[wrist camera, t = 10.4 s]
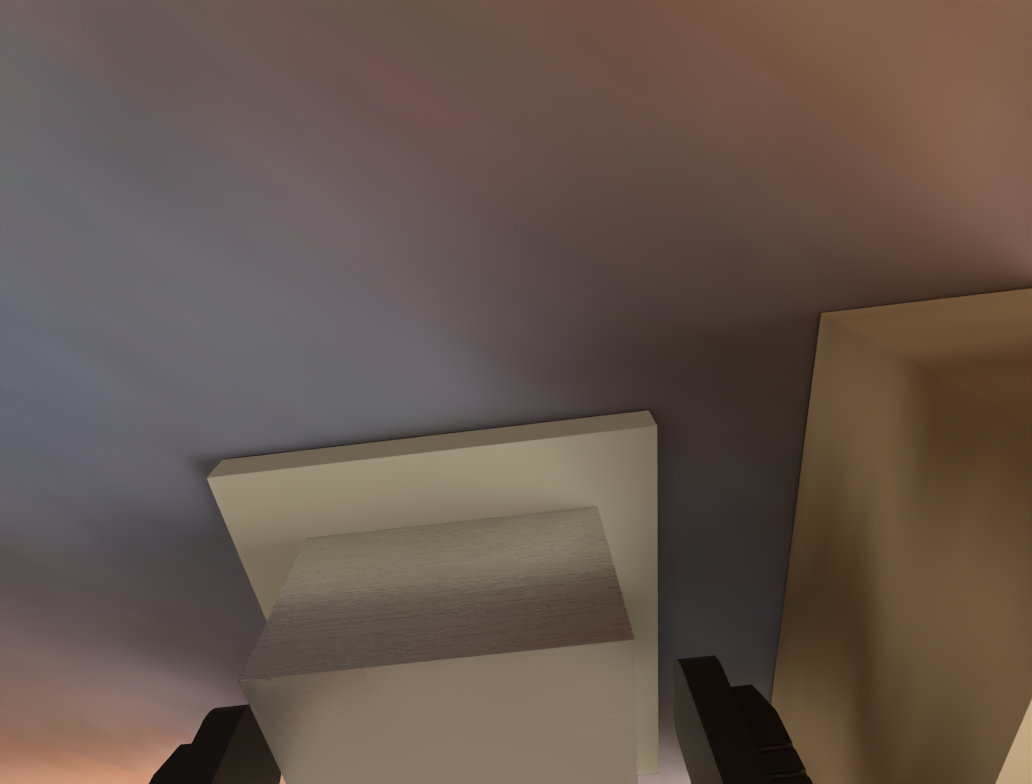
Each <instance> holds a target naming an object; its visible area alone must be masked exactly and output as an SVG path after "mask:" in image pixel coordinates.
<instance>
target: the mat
mask: <svg viewBox="0 0 1032 784" xmlns="http://www.w3.org/2000/svg"><path fill="white" fill-rule="evenodd" d="M207 480H208V483H209V485H210V487H211V490H212V492H213V495H214V497H215V499H216V502H217V504H218V507H219V509H220V511H221V514H222V516H223V519H224V521H225V523H226V526H227V528H228V530H229V533H230V535H231V538H232V540H233V542H234V545H235V547H236V550H237V552H238V554H239V557H240V559H241V561H242V564H243V566H244V569H245V571H246V573H247V576H248V578H249V581H250V583H251V585H252V588H253V590H254V592H255V595H256V597H257V600H258V602H259V604H260V607H261V609H262V612H263V614H264V616H265V619H266V621H267V620H268V618H269V616H270V614H271V611H272V609H273V607H274V605H275V603H276V601H277V599H278V597H279V595H280V593H281V591H282V588H283V586H284V584H285V582H286V580H287V578H288V576H289V574H290V572H291V570H292V567H293V565H294V563H295V561H296V559H297V557H298V555H299V553H300V551H301V549H302V547H303V544H304V542H305V540H306V538H309V537H318V536H327V535H337V534H346V533H355V532H364V531H374V530H383V529H392V528H401V527H411V526H420V525H429V524H438V523H448V522H457V521H466V520H475V519H485V518H494V517H503V516H512V515H522V514H531V513H540V512H550V511H559V510H568V509H577V508H587V507H596V506H597V507H598V510H599V514H600V518H601V521H602V525H603V528H604V532H605V535H606V539H607V542H608V546H609V550H610V553H611V557H612V560H613V564H614V567H615V571H616V574H617V578H618V581H619V585H620V589H621V592H622V596H623V599H624V603H625V606H626V610H627V613H628V617H629V621H630V624H631V628H632V631H633V635H634V638H635V674H636V727H637V776H640V775H649V774H658V513H657V425H656V423H655V421H654V419H653V418H652V416H651V414H650V412H649V411H639V412H631V413H622V414H613V415H605V416H596V417H588V418H579V419H570V420H562V421H553V422H544V423H536V424H527V425H519V426H510V427H501V428H493V429H484V430H476V431H467V432H458V433H450V434H441V435H432V436H424V437H415V438H407V439H398V440H389V441H381V442H372V443H364V444H355V445H346V446H338V447H329V448H321V449H312V450H303V451H295V452H286V453H277V454H269V455H260V456H252V457H243V458H234V459H226V460H222V461H221V462H220V463H219V464H218V465H217V466H216V467H215V469H214V470H213V471H212V472H211V473H210V474H209V476H208V477H207Z"/></svg>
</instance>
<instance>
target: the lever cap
mask: <svg viewBox="0 0 1032 784" xmlns="http://www.w3.org/2000/svg"><path fill="white" fill-rule="evenodd" d="M238 682H239V684H240V686H241V688H242V690H243V692H244V694H245V697H246V699H247V701H248V703H249V705H250V707H251V709H252V712H253V714H254V716H255V718H256V720H257V722H258V724H259V726H260V729H261V731H262V733H263V735H264V737H265V739H266V741H267V743H268V746H269V748H270V750H271V752H272V754H273V756H274V758H275V761H276V763H277V765H278V767H279V769H280V771H281V773H282V775H283V778H284V780H285V782H286V784H638V779H637V727H636V674H635V638H634V635H633V631H632V628H631V624H630V621H629V617H628V613H627V610H626V606H625V603H624V599H623V596H622V592H621V589H620V585H619V581H618V578H617V574H616V571H615V567H614V564H613V560H612V557H611V553H610V550H609V546H608V542H607V539H606V535H605V532H604V528H603V525H602V521H601V518H600V514H599V510H598V507H597V506H596V507H587V508H577V509H568V510H559V511H550V512H540V513H531V514H522V515H512V516H503V517H494V518H485V519H475V520H466V521H457V522H448V523H438V524H429V525H420V526H411V527H401V528H392V529H383V530H374V531H364V532H355V533H346V534H337V535H327V536H318V537H309V538H306V540H305V542H304V544H303V547H302V549H301V551H300V553H299V555H298V557H297V559H296V561H295V563H294V565H293V567H292V570H291V572H290V574H289V576H288V578H287V580H286V582H285V584H284V586H283V588H282V591H281V593H280V595H279V597H278V599H277V601H276V603H275V605H274V607H273V609H272V611H271V614H270V616H269V618H268V620H267V622H266V624H265V626H264V628H263V630H262V632H261V634H260V637H259V639H258V641H257V643H256V645H255V647H254V649H253V651H252V653H251V655H250V658H249V660H248V662H247V664H246V666H245V668H244V670H243V672H242V674H241V676H240V678H239V681H238Z"/></svg>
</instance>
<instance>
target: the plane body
mask: <svg viewBox="0 0 1032 784" xmlns="http://www.w3.org/2000/svg"><path fill="white" fill-rule="evenodd" d="M771 705H772V706H773V707H774V708H775V709H776V710H777V712H778V714H779V716H780V718H781V720H782V722H783V724H784V726H785V729H786V731H787V733H788V735H789V737H790V739H791V741H792V744H793V747H794V749H796V751H797V753H798V755H799V757H800V759H801V761H802V763H803V765H804V767H805V769H806V773H807V776H808V777H810V779H811V781H812V783H813V784H1032V288H1029V289H1021V290H1012V291H1004V292H995V293H987V294H978V295H970V296H961V297H953V298H944V299H936V300H928V301H919V302H911V303H902V304H894V305H885V306H877V307H868V308H860V309H851V310H843V311H834V312H826V313H821V317H820V324H819V332H818V340H817V348H816V356H815V364H814V371H813V379H812V387H811V395H810V403H809V410H808V418H807V426H806V434H805V442H804V450H803V457H802V465H801V473H800V481H799V489H798V496H797V504H796V512H795V520H794V528H793V536H792V543H791V551H790V559H789V567H788V575H787V583H786V590H785V598H784V606H783V614H782V622H781V629H780V637H779V645H778V653H777V661H776V669H775V676H774V684H773V692H772V700H771Z"/></svg>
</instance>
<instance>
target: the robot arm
mask: <svg viewBox="0 0 1032 784" xmlns="http://www.w3.org/2000/svg"><path fill="white" fill-rule="evenodd" d="M674 719H675V726H676V731H677V736H678V740H679V744H680V748H681V751H682V754H683V757H684V761H685V764H686V767H687V771H688V774H689V777H690V780H691V784H813V783H812V781H811V779H810V777H808V776H807V773H806V769H805V767H804V765H803V763H802V761H801V759H800V757H799V755H798V753H797V751H796V749H794V747H793V744H792V741H791V739H790V737H789V735H788V733H787V731H786V729H785V726H784V724H783V722H782V720H781V718H780V716H779V714H778V712H777V710H776V709H775V708H774V707H773V706H772V705H771V704H770V703H769V702H768V701H767V700H766V699H765V698H764V697H763V696H762V695H761V694H760V693H759V692H758V691H757V690H756V689H755V688H754V687H753V686H752V685H745V686H736V687H731V686H730V684H729V682H728V679H727V677H726V675H725V672H724V670H723V668H722V666H721V663H720V662H719V660H718V659H717V657H716V656H714V655H713V656H704V657H695V658H686V659H677V660H675V664H674ZM280 778H281V771H280V769H279V767H278V765H277V763H276V761H275V758H274V756H273V754H272V752H271V750H270V748H269V746H268V743H267V741H266V739H265V737H264V735H263V733H262V731H261V729H260V726H259V724H258V722H257V720H256V718H255V716H254V714H253V712H252V709H251V707H250V705H249V704H248V705H239V706H230V707H221V708H215V709H213V710H211V711H210V712H209V713H208V714H207V716H206V717H205V719H204V720H203V722H202V724H201V726H200V728H199V730H198V732H197V734H196V736H195V738H194V740H193V742H192V743H191V744H182V745H180V746H179V747H178V748H177V749H176V750H175V751H174V752H173V754H172V755H171V756H170V757H169V758H168V759H167V760H166V762H165V763H164V764H163V765H162V766H161V767H160V768H159V770H158V771H157V772H156V773H155V774H154V775H153V777H152V779H151V781H150V783H149V784H279V783H280Z"/></svg>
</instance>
